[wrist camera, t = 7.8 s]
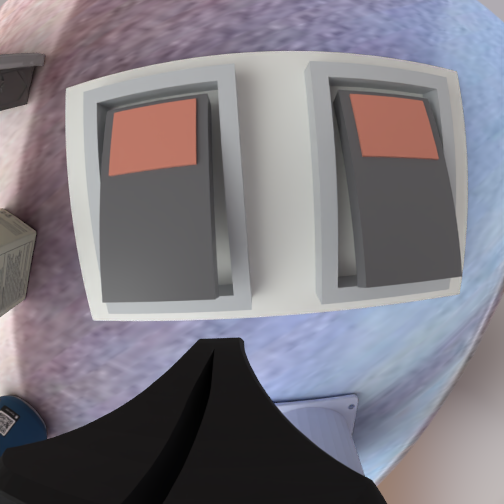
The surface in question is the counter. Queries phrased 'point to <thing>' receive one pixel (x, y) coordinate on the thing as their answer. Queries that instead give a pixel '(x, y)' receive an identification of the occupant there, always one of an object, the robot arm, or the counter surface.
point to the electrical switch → (17, 77)
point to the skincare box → (14, 259)
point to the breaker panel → (266, 177)
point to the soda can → (19, 423)
